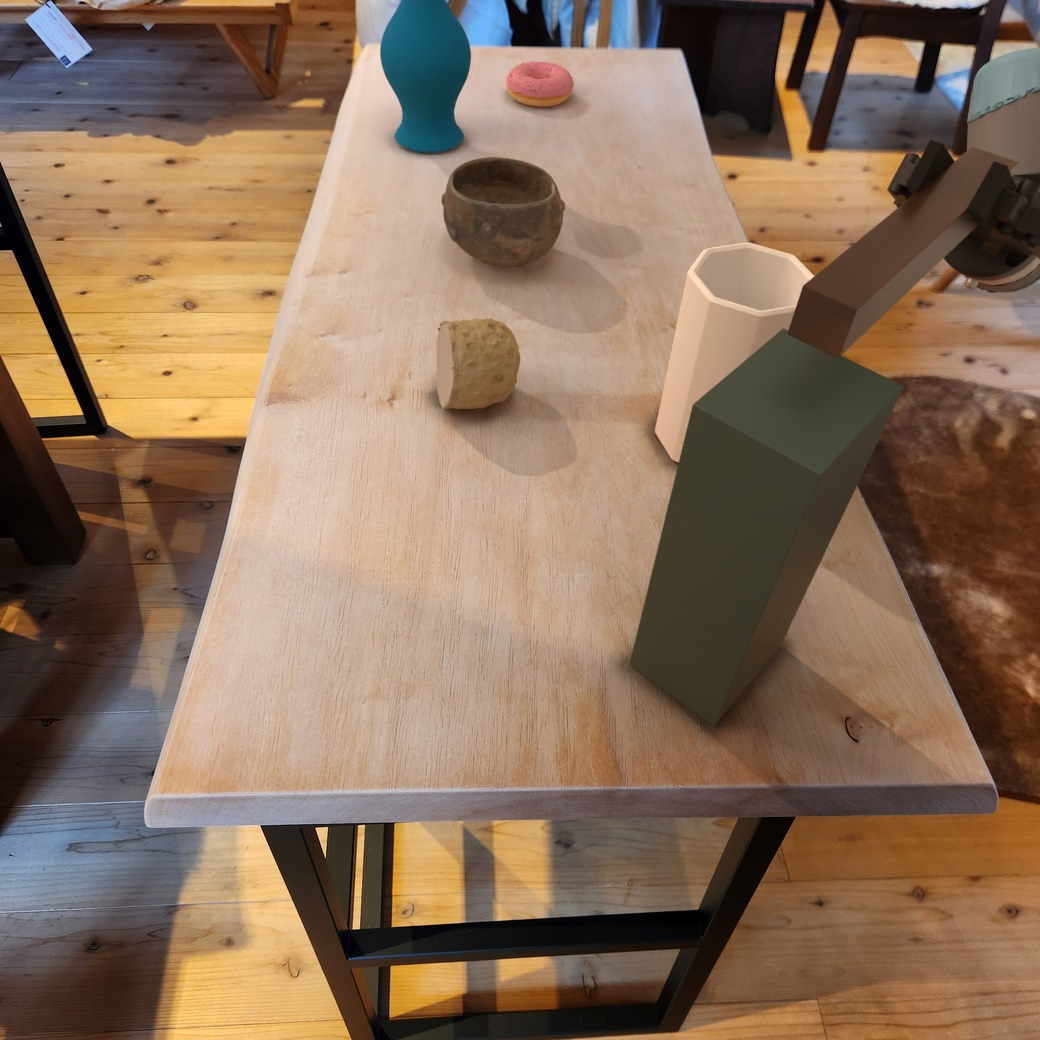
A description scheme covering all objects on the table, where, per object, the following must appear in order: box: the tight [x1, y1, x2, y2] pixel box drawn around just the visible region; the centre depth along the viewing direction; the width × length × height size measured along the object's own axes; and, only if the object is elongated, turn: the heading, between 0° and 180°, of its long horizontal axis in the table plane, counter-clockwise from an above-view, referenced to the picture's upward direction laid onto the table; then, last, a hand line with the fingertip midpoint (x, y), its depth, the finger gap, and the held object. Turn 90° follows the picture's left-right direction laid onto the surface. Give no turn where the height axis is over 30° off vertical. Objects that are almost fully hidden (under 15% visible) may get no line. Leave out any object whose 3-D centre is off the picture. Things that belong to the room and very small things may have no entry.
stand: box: [628, 328, 905, 727], centre depth 58 cm, size 8×10×27 cm
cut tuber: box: [436, 317, 521, 410], centre depth 85 cm, size 10×10×10 cm
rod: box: [787, 147, 1019, 358], centre depth 49 cm, size 3×22×3 cm, turn 139°
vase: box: [379, 0, 472, 154], centre depth 117 cm, size 12×13×28 cm
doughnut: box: [505, 60, 575, 108], centre depth 137 cm, size 11×11×4 cm
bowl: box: [441, 156, 566, 270], centre depth 103 cm, size 14×15×10 cm
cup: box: [654, 242, 815, 463], centre depth 78 cm, size 11×11×18 cm
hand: (954, 176), depth 48 cm, fingers closed on rod, 3 cm apart
